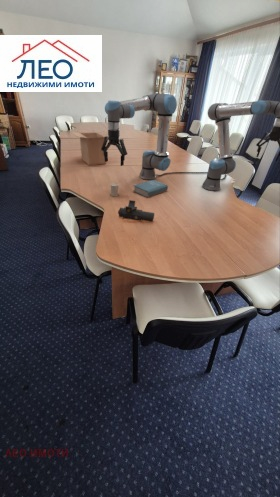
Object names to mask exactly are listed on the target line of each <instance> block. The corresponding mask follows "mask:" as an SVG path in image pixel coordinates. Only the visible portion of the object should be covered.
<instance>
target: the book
mask: <svg viewBox="0 0 280 497" xmlns="http://www.w3.org/2000/svg"><path fill="white" fill-rule="evenodd" d="M168 187H169V186H168V184H166V183H164V182H160V181H159V180H156V179H153V180H146V181H143V182H140V183H137V184H134V185H133V193H135V194H138V195H140V196H142V197H145V198H150V197H153V196H156V195H159V194H161V193H164V192H167V191H168Z"/></svg>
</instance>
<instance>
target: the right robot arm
mask: <svg viewBox="0 0 280 497" xmlns="http://www.w3.org/2000/svg"><path fill="white" fill-rule="evenodd" d="M251 115H253V116H254V115H274V116H276V117H275V119H274V123H273V126H272V127H271V130H270V132H268V131H267V132H265V133H264V135H263V136H262V138H260V140H259V141H258V142H257V143H256V144H255V146H256V147H257V149H256V153H257V154H256V156H255V157H256V158H259V157H260V154H261V150H262V149H263V148H262V146H265V144H266V143H268V142H269V141H271V142H277V144H278V147H279V148H280V101H277V100H263V99H260V100H256V101H255V100H254V101H246V102H237V103H226V102H224V103H223V102H216V103H213V104H211V105H210V106H209V108H208V109H207V117H208V119H210V120H211V121H214V122H215V125H216V126H217V137H218V151H219V157H218V158H213V159H211V160H210V161H209V164H208V168H207V172H208V173H206V177H205V180H204V181H203V182H202V186H201V187H202V189H204V190H207V191H210V192H218V191H220V189H221V181H223V180H224V179H226V177H227V175H229V174H230V173H233V172H234V171H235V169H236V167H237V166H236V165H237V163H236V161H235V159H234V156H233V155H232V154H231V139H230V123H231V118H232V117H239V116H251ZM267 137H269V138H267ZM266 138H267V139H266ZM279 158H280V150H279V151H278V154H277V157H276V159H275V162H278V161H279ZM222 175H224V177H223V178H222Z"/></svg>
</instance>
